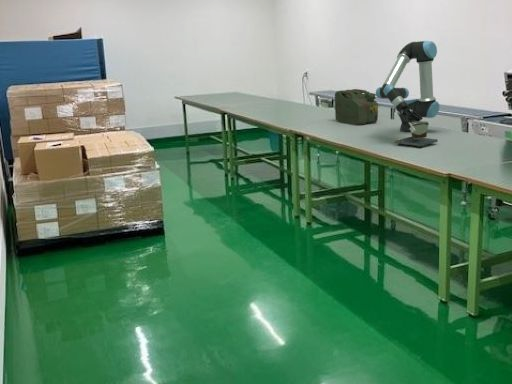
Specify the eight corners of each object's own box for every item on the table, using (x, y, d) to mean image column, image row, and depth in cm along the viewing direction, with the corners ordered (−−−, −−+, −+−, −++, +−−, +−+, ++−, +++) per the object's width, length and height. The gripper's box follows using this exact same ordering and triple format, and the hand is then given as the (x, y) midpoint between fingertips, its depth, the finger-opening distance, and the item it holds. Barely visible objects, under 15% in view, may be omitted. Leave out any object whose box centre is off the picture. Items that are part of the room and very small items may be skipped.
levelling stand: (411, 140, 361) (411, 135, 360) (437, 144, 346) (437, 137, 345) (394, 145, 351) (394, 139, 350) (420, 148, 335) (420, 142, 334)
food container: (423, 135, 351) (424, 120, 348) (428, 137, 345) (428, 121, 343) (406, 137, 349) (406, 122, 346) (411, 139, 343) (411, 123, 340)
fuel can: (359, 126, 437) (358, 92, 430) (335, 121, 468) (334, 90, 461) (378, 123, 445) (378, 90, 437) (353, 119, 475) (353, 88, 468)
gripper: (408, 106, 361) (427, 131, 353) (385, 110, 347) (404, 136, 339) (414, 98, 355) (434, 123, 348) (392, 102, 342) (411, 128, 334)
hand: (419, 130), depth 343 cm, fingers closed on food container, 11 cm apart
